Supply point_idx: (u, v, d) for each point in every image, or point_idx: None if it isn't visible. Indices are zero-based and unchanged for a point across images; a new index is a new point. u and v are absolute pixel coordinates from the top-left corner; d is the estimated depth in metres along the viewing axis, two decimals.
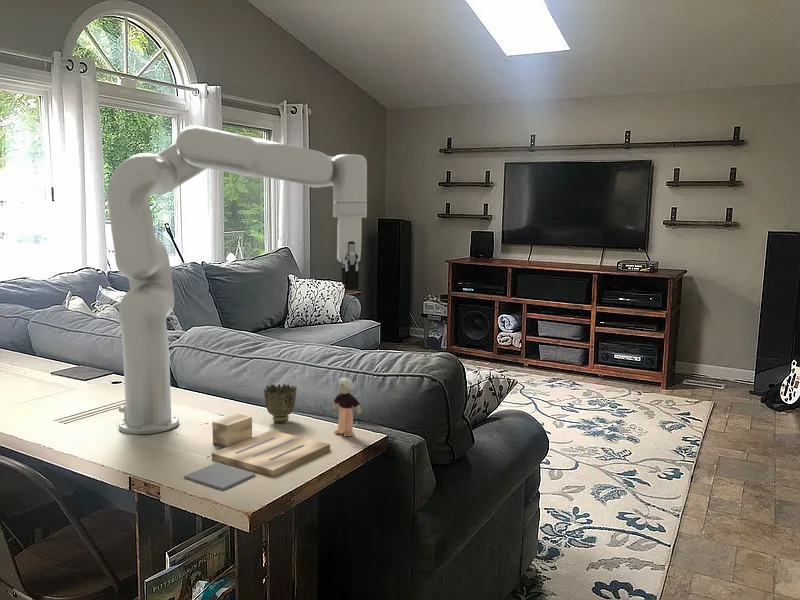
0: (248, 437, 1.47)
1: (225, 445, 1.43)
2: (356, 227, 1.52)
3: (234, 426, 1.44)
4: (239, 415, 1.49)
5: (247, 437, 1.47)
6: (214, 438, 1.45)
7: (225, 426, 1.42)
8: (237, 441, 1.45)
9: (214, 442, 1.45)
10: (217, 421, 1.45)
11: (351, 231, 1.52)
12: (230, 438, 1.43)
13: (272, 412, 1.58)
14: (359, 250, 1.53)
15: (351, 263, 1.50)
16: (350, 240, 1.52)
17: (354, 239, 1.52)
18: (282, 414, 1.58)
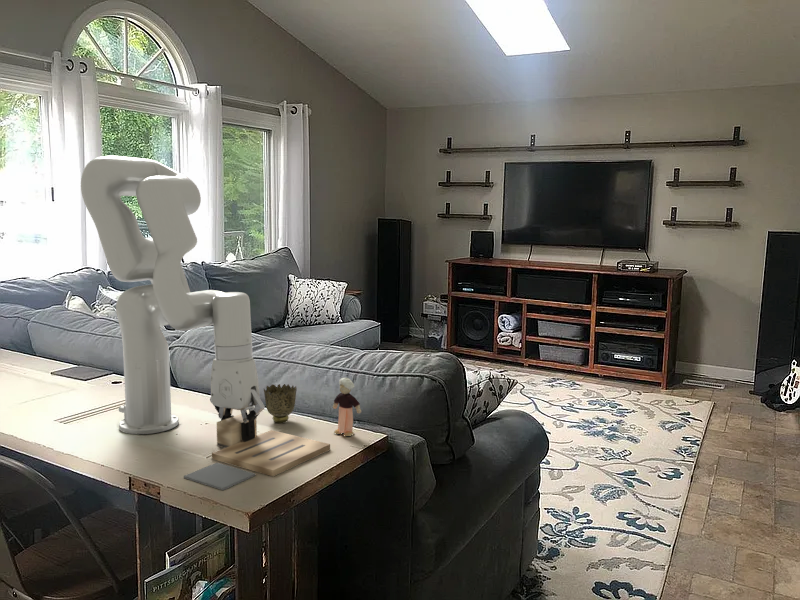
0: None
1: None
2: (254, 370, 1.43)
3: (238, 426, 1.43)
4: None
5: None
6: (218, 438, 1.44)
7: (229, 427, 1.42)
8: None
9: (218, 442, 1.44)
10: (221, 421, 1.44)
11: (252, 375, 1.42)
12: (234, 439, 1.42)
13: (272, 412, 1.58)
14: None
15: (256, 413, 1.42)
16: (252, 385, 1.42)
17: (255, 383, 1.42)
18: (282, 414, 1.58)
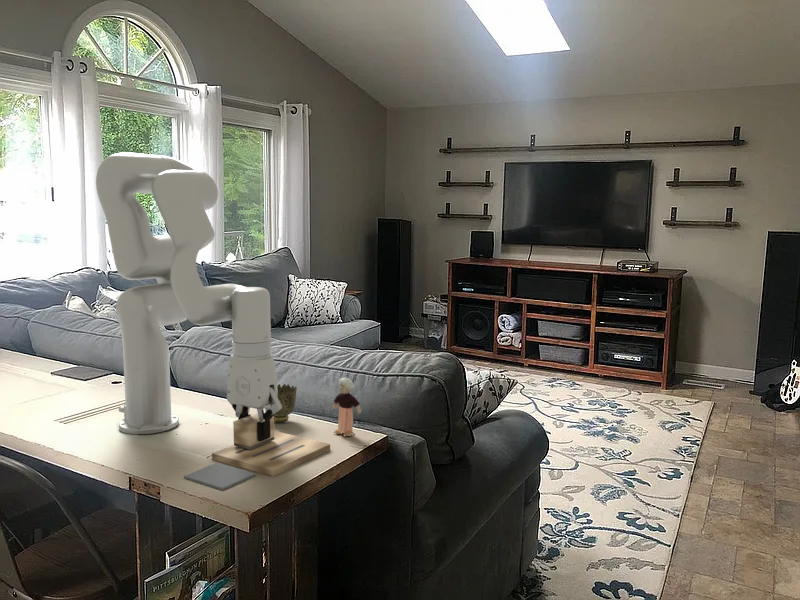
0: (270, 437, 1.43)
1: (247, 445, 1.38)
2: (273, 368, 1.38)
3: (256, 425, 1.39)
4: None
5: None
6: (235, 438, 1.40)
7: (246, 426, 1.37)
8: (259, 441, 1.40)
9: (235, 442, 1.40)
10: (238, 421, 1.40)
11: (270, 373, 1.37)
12: (252, 438, 1.38)
13: None
14: (277, 392, 1.39)
15: (273, 413, 1.38)
16: (270, 383, 1.37)
17: (273, 381, 1.38)
18: (282, 414, 1.58)
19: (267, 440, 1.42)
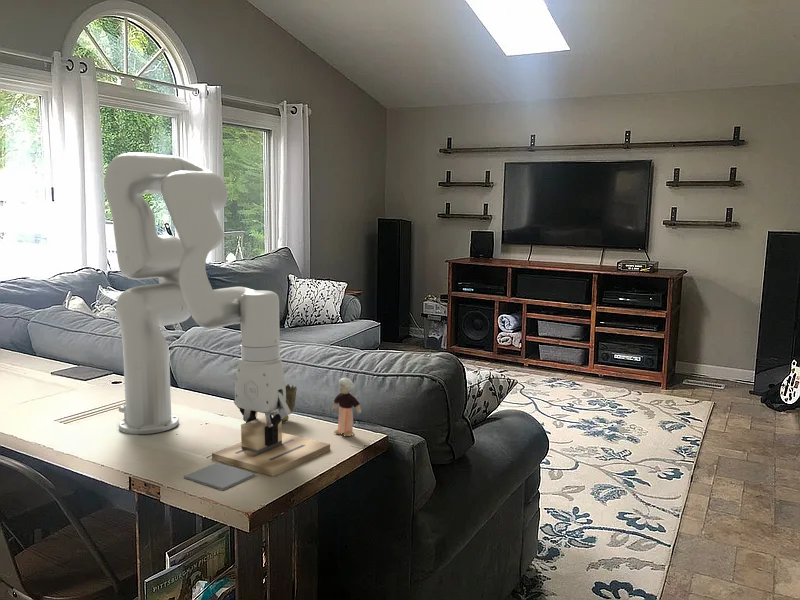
0: (278, 440, 1.41)
1: (255, 449, 1.37)
2: (282, 372, 1.37)
3: (264, 429, 1.38)
4: None
5: None
6: (243, 442, 1.38)
7: (254, 429, 1.36)
8: None
9: (243, 446, 1.39)
10: (246, 424, 1.39)
11: (279, 378, 1.36)
12: (260, 442, 1.37)
13: None
14: (285, 396, 1.38)
15: (281, 418, 1.37)
16: (279, 388, 1.36)
17: (282, 386, 1.37)
18: None
19: (275, 444, 1.41)
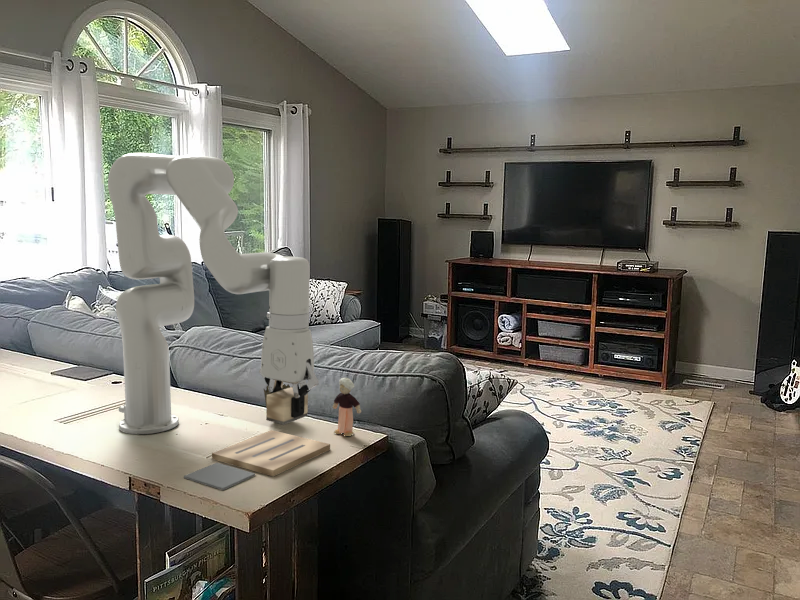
0: None
1: (280, 420, 1.32)
2: (311, 342, 1.32)
3: (290, 400, 1.33)
4: None
5: None
6: (268, 413, 1.34)
7: (281, 400, 1.32)
8: None
9: (268, 417, 1.34)
10: (272, 394, 1.34)
11: (308, 347, 1.31)
12: (286, 413, 1.32)
13: None
14: (313, 367, 1.34)
15: (308, 388, 1.32)
16: (308, 358, 1.31)
17: (310, 356, 1.32)
18: None
19: (300, 416, 1.36)
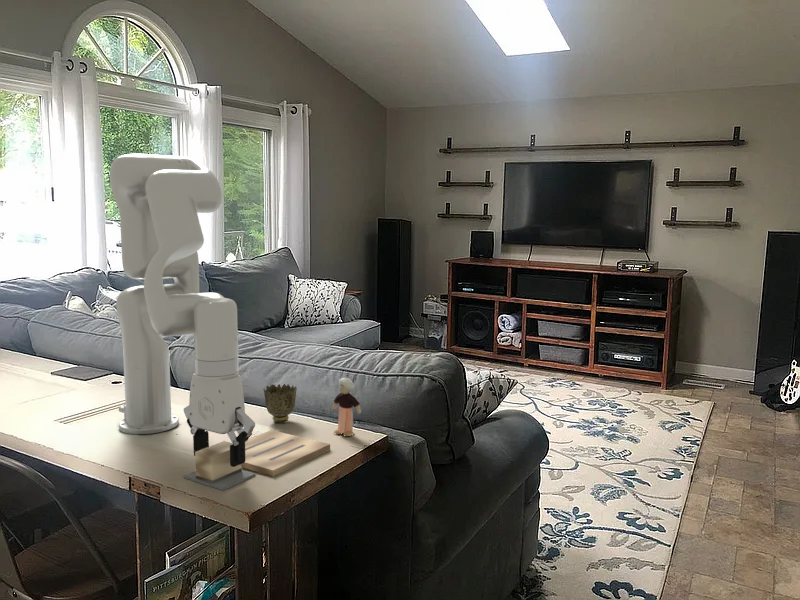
0: (237, 469, 1.28)
1: (210, 479, 1.24)
2: (240, 388, 1.24)
3: (220, 457, 1.25)
4: (226, 443, 1.30)
5: (235, 469, 1.28)
6: (197, 470, 1.25)
7: (209, 457, 1.23)
8: (224, 474, 1.26)
9: (197, 475, 1.26)
10: (201, 451, 1.26)
11: (237, 394, 1.23)
12: (215, 471, 1.24)
13: (272, 412, 1.58)
14: None
15: (247, 435, 1.22)
16: (237, 406, 1.23)
17: (240, 403, 1.24)
18: (282, 414, 1.58)
19: (233, 472, 1.28)
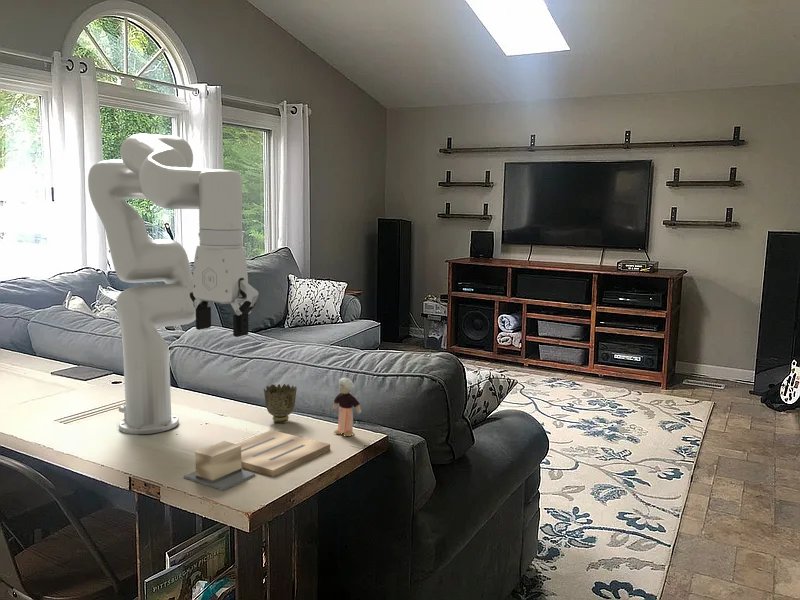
0: (237, 469, 1.28)
1: (210, 479, 1.24)
2: (244, 260, 1.25)
3: (220, 457, 1.25)
4: (226, 443, 1.30)
5: (235, 469, 1.28)
6: (197, 470, 1.25)
7: (209, 457, 1.23)
8: (224, 474, 1.26)
9: (197, 475, 1.26)
10: (201, 451, 1.26)
11: (240, 265, 1.24)
12: (215, 471, 1.24)
13: (272, 412, 1.58)
14: None
15: (251, 305, 1.23)
16: (240, 276, 1.24)
17: (243, 275, 1.25)
18: (282, 414, 1.58)
19: (233, 472, 1.28)
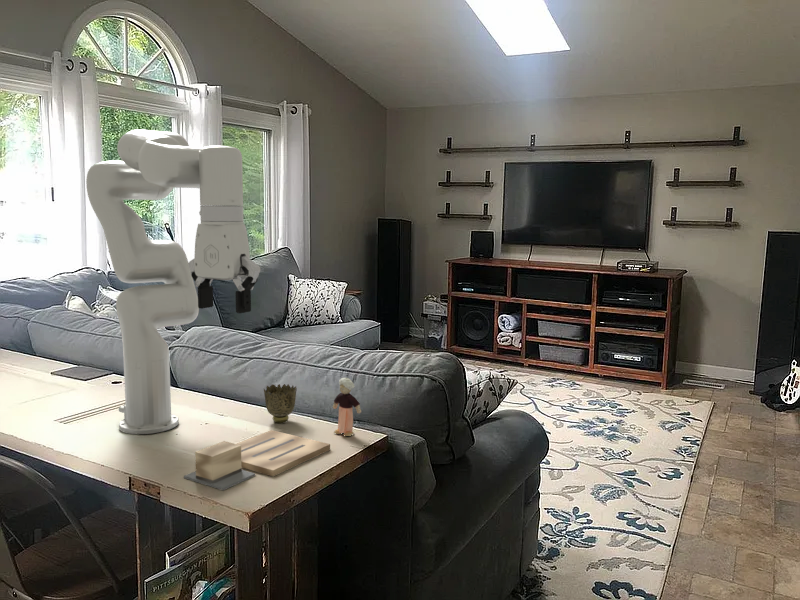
0: (237, 469, 1.28)
1: (210, 479, 1.24)
2: (245, 236, 1.25)
3: (220, 457, 1.25)
4: (226, 443, 1.30)
5: (235, 469, 1.28)
6: (197, 470, 1.25)
7: (209, 457, 1.23)
8: (224, 474, 1.26)
9: (197, 475, 1.26)
10: (201, 451, 1.26)
11: (242, 241, 1.24)
12: (215, 471, 1.24)
13: (272, 412, 1.58)
14: None
15: (253, 280, 1.23)
16: (242, 252, 1.24)
17: (245, 251, 1.25)
18: (282, 414, 1.58)
19: (233, 472, 1.28)
